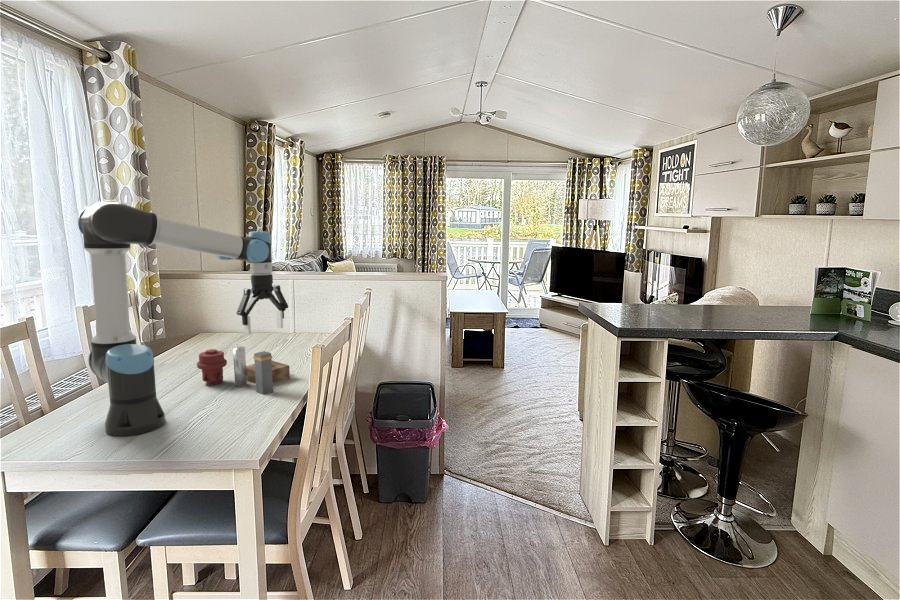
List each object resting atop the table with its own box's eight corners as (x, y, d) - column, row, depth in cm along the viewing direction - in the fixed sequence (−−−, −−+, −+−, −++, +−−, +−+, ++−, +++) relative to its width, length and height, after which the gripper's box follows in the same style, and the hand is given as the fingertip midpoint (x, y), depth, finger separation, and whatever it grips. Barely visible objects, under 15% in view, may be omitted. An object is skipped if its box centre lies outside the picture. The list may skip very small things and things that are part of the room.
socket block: (262, 386, 193) (261, 372, 192) (243, 379, 200) (242, 366, 199) (289, 378, 202) (289, 365, 201) (270, 372, 209) (270, 360, 208)
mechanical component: (233, 379, 199) (216, 388, 190) (209, 378, 201) (192, 386, 192) (231, 348, 197) (214, 354, 188) (207, 346, 199) (189, 353, 190)
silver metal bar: (239, 387, 191) (237, 349, 189) (232, 385, 193) (230, 347, 191) (249, 384, 194) (247, 347, 192) (242, 382, 196) (240, 345, 194)
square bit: (262, 394, 184) (260, 355, 181) (255, 392, 186) (253, 353, 184) (273, 391, 187) (271, 353, 185) (266, 388, 190) (264, 350, 188)
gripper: (236, 277, 182) (239, 338, 186) (296, 271, 202) (298, 326, 206) (224, 276, 187) (227, 334, 190) (284, 270, 207) (286, 323, 210)
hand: (264, 330), depth 198 cm, fingers open, 13 cm apart
